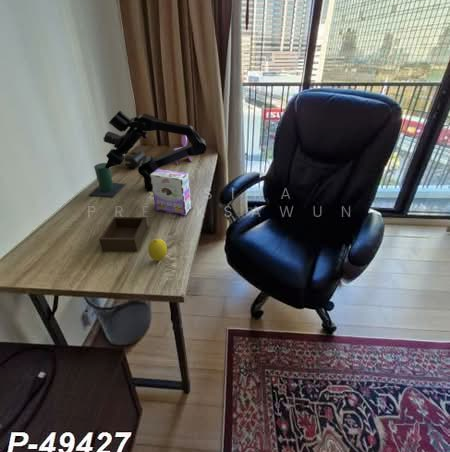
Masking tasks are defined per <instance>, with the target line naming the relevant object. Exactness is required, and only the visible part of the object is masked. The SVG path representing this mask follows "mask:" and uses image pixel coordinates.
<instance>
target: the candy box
mask: <svg viewBox="0 0 450 452" xmlns="http://www.w3.org/2000/svg"><path fill="white" fill-rule="evenodd" d="M150 179H151V184H152V190H153V191H152V195H153V200H154V205H155V210H156V211H159V212H160V211H161V212H166V213H170V214H176V215H179V216H186V215H187V214H188V213H189V212H190V211H191V209H192V200H191V199H192V198H191V191H190V190H191V189H190V180H189V179H190V178H189V173H188V172H182V171H175V170H168V169H161V168H158V169H157V170H155V171H154V172H153V173H152V174H150Z"/></svg>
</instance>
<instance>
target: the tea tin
mask: <svg viewBox="0 0 450 452" xmlns="http://www.w3.org/2000/svg"><path fill="white" fill-rule="evenodd" d="M106 163H107V162H101V163H100V162H99V163H97V164H95V165H94V166H93V168H94V172H95V176H96V179H97V182H98V186H99V187H100V190H101V192H109V191H112V190H113V189H114V185H113V183H114V182H113V177H112V173H111V169H110V168H108V169H106V168H105V166H106Z"/></svg>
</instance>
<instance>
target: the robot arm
mask: <svg viewBox="0 0 450 452" xmlns="http://www.w3.org/2000/svg"><path fill="white" fill-rule="evenodd" d="M108 124H109V125H111V126H112V127H113V128H114V129H116V130H117V131H119V132H121V133H123V132H125V133H124V134H122V135H120V134H117V133H115V132H112V131H107V132H106V133H105V134H104V137H103V142H104V143H106V144H110V145H113V148H112V149H110V150H109V152H108V153H106V155H105V157H106V158H107V162H105V163H106V166H105V168H106V169H108V168H109V169H110V168H112V167H115V166H120V165H121V164H122V163H123V161H125V155H128V153H129V152H130V150H131V149H133V148H134V147H135V145H136V144H137V142H138V141H139V140H140V139H141V138H143V139H144V140H147V138H148V132H154V131H160V132H167V133H171V134H176V135H182V136H183V135H185V136H187V140H188V141H189V143H187V145H186V146H185V147H183V146H181V147H182V148H181V147H179V148H180V149H177V150H175V151H174V150H172V151H170V152H168V153H165V154H162V155H160V156H158V157H157V156H156V157H153V155H152V154H151V155H149V156H147V157H146V158H143V160H142V161H141V163H140V165H139V166H138V169H137V172H138V174H139V175H140V176H141V177H142V178H143V184H144V189H145V190H146V192H153V190H152V184H151V179H150V174H152V173H153V172H154V171H155V170H157V169H161V168H163V167H164V166H167V165H169V164H172V163H174V162H175V161H177V162H178V161H180V160H182V159H185V158H188V156H190V157H196V156H201V155H203V154H205V153H206V151H207V142H206V140H205V139H204V138H202V137H201V136H200V135H199V134H198V133H197V131H196V130H195V129H194V127H193V126H192V125H191V124H182V123H178V122H174V121H169V120H163V119H159V118H158V117H155V116H154V115H151V114H148V113H141V114H140V115H139V116H135V117H131V118H130V117H128V116H127V115H126V114H124V113H123V111H121V110H118V111H117V113H116V114H115V115H114V116H113V117H112V118H111V119H110V120H109V121H108ZM175 163H176V162H175Z"/></svg>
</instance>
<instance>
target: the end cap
mask: <svg viewBox="0 0 450 452" xmlns="http://www.w3.org/2000/svg"><path fill="white" fill-rule="evenodd" d="M143 158H147V157H146V154H145V153H144V152H143V151H142V150H139V151H138V152H137V151H136V152H133V151H132V152H131V153H130V155H127V156H125V157H124V162H126V163H125V167H126V169H127V170H135V169H137V167H139V165H140V163H141V161H142V160H143Z"/></svg>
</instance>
